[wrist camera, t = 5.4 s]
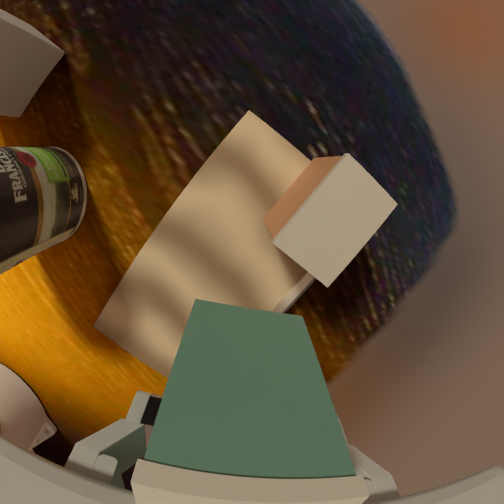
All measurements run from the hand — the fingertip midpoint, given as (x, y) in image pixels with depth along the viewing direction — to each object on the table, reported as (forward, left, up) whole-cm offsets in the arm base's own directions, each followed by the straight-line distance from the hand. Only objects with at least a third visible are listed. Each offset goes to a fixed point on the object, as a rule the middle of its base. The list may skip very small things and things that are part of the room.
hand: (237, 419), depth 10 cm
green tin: (0, 0, -3) cm, 3 cm away
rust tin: (+8, -1, -18) cm, 20 cm away
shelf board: (-2, +1, -19) cm, 19 cm away
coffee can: (-7, +20, -19) cm, 28 cm away
